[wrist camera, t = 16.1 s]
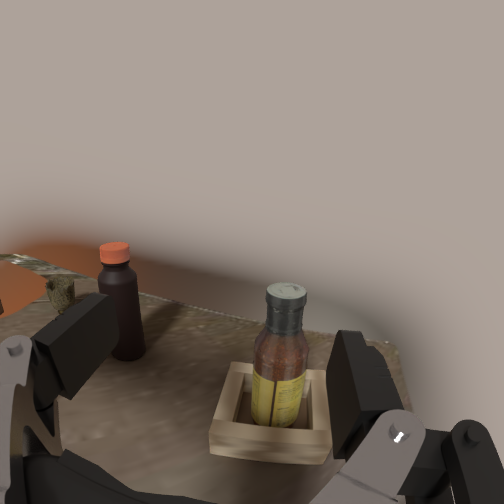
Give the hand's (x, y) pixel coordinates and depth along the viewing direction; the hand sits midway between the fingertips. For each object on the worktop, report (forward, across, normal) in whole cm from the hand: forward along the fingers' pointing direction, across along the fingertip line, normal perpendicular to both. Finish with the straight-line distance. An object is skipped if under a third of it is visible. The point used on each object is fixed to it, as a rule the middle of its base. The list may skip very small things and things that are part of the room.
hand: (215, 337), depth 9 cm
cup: (+34, +45, +28) cm, 63 cm away
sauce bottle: (+17, -4, +26) cm, 31 cm away
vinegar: (+28, +23, +28) cm, 45 cm away
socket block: (+17, -4, +27) cm, 32 cm away
